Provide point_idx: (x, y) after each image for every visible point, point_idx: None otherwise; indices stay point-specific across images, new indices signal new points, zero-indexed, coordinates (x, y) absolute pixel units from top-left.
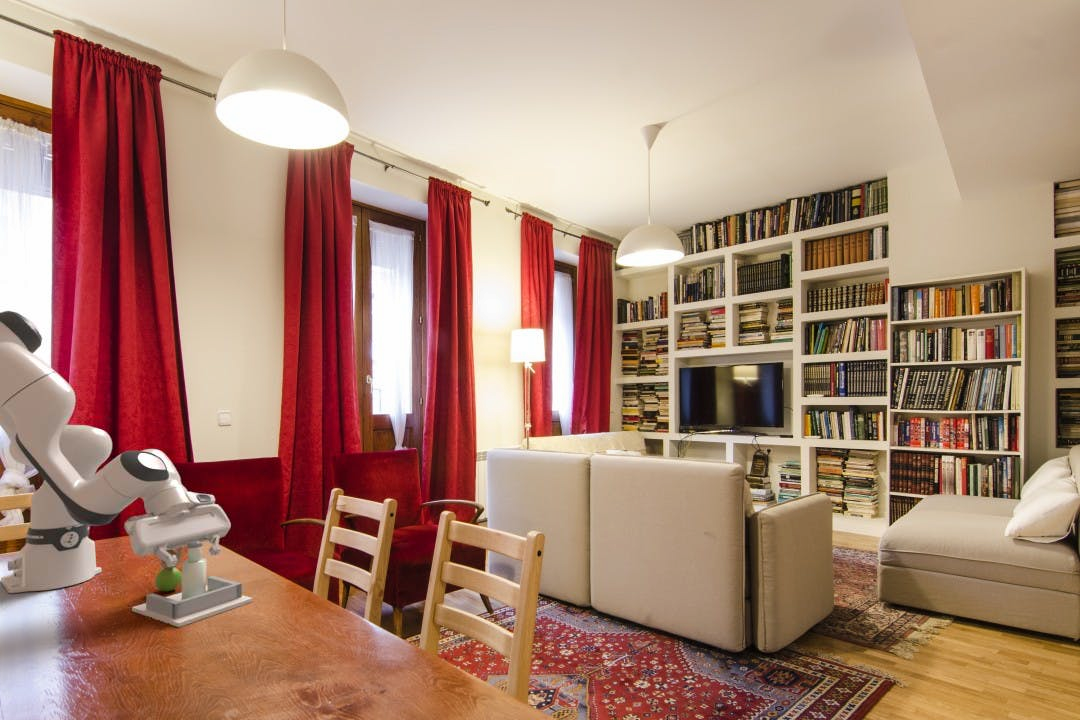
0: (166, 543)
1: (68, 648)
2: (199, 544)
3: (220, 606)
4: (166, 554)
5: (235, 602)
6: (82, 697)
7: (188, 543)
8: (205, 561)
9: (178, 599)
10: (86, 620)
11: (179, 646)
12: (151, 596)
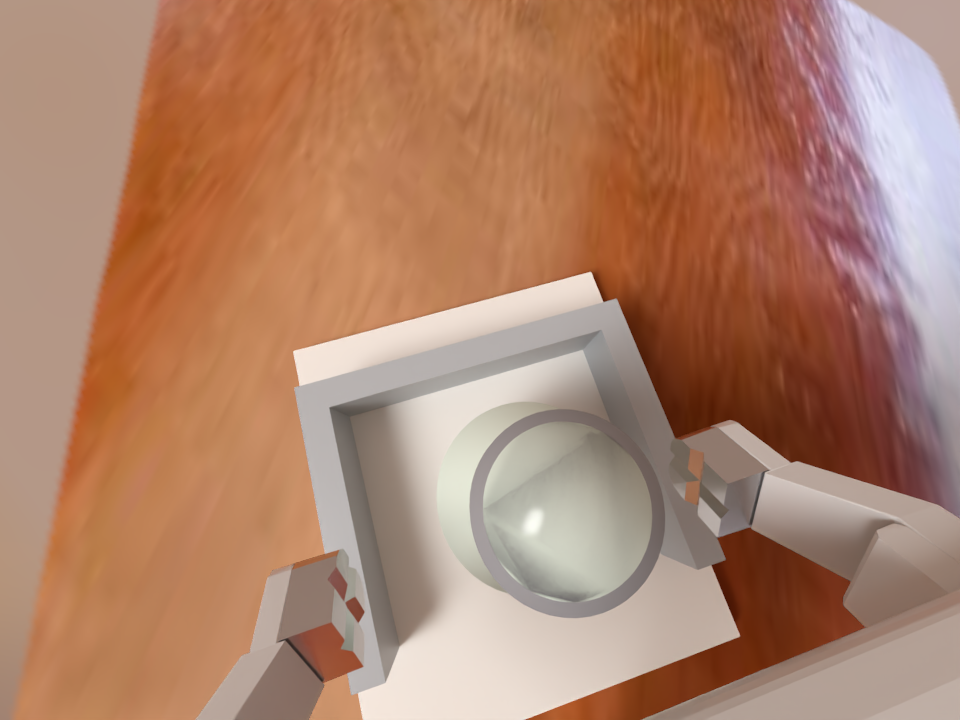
0: (957, 590)
1: (897, 339)
2: (520, 422)
3: (428, 342)
4: (825, 471)
5: (366, 347)
6: (806, 19)
7: (644, 512)
8: (453, 441)
9: None
10: None
11: (606, 131)
12: None
